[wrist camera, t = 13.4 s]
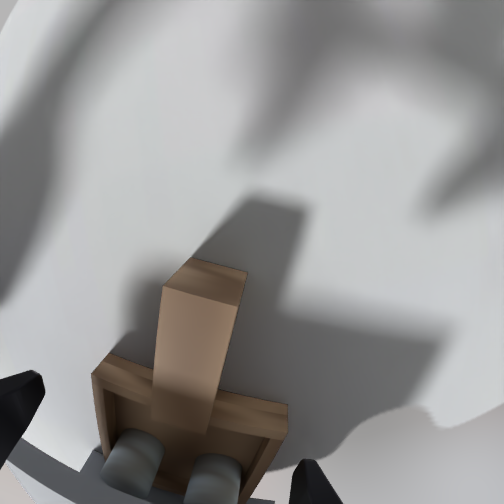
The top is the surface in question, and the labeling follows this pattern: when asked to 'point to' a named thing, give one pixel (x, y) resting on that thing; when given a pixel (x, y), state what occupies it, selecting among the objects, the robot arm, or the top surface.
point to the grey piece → (77, 481)
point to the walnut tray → (186, 401)
